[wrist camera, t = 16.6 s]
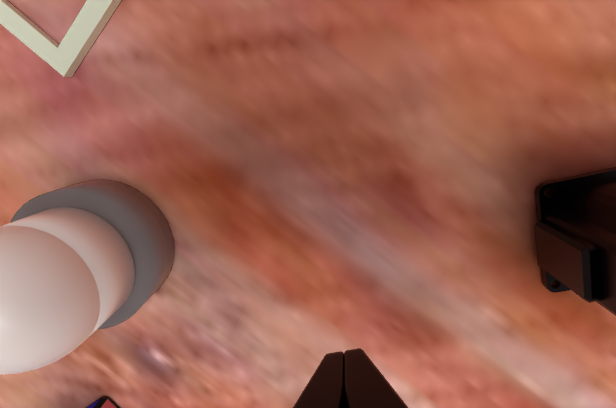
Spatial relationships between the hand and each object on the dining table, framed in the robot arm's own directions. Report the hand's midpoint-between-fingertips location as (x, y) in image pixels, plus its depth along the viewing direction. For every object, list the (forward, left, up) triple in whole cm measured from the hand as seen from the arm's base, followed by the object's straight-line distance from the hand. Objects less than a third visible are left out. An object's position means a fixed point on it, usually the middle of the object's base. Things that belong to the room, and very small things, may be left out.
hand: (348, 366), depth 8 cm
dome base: (+14, -1, -13) cm, 19 cm away
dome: (+14, -1, -10) cm, 17 cm away
